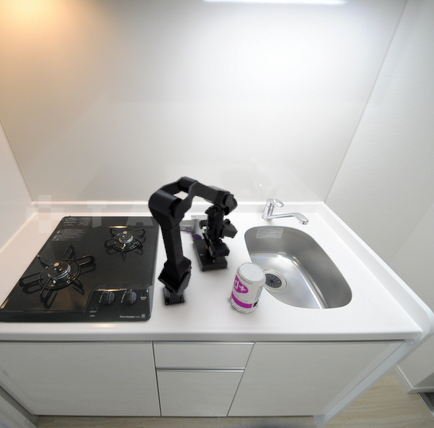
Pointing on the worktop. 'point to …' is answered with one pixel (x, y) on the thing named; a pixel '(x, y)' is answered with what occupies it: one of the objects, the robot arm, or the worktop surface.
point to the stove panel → (207, 257)
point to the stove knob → (207, 251)
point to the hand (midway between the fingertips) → (210, 253)
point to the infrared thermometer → (192, 227)
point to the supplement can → (247, 287)
